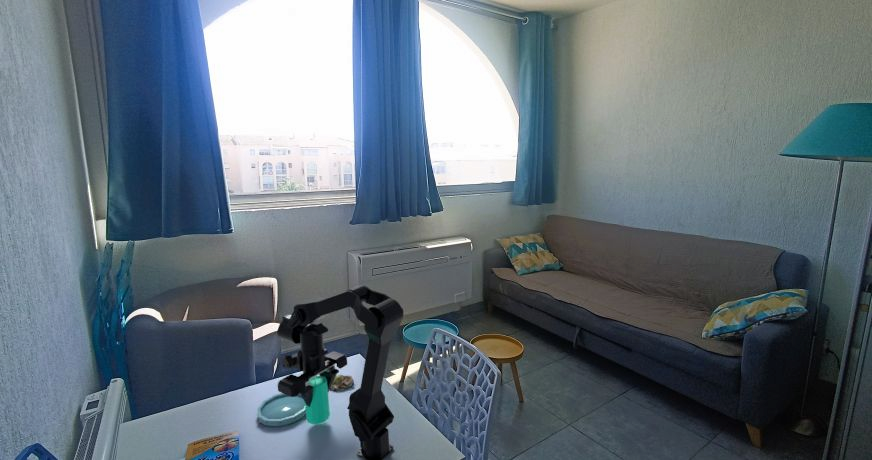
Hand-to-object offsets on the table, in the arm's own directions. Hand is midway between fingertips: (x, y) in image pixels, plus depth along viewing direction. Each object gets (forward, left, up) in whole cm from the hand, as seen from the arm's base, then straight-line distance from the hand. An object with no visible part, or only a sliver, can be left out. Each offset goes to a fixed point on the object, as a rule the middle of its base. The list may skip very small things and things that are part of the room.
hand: (317, 401), depth 106 cm
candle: (0, 0, -5) cm, 5 cm away
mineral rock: (+11, -17, -7) cm, 21 cm away
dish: (+13, +1, -7) cm, 15 cm away
